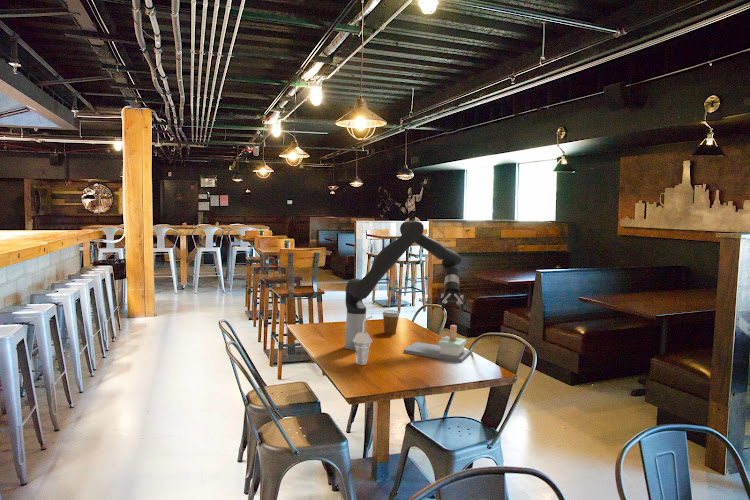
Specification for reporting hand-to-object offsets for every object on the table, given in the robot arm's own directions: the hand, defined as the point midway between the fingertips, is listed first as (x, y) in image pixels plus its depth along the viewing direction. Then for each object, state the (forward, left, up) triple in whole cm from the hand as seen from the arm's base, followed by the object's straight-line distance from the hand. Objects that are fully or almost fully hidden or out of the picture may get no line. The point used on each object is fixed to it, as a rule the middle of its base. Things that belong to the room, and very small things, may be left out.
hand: (452, 311), depth 247 cm
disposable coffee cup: (+14, +38, -19) cm, 45 cm away
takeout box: (-11, -4, -18) cm, 21 cm away
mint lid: (-11, -4, -14) cm, 18 cm away
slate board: (-11, +3, -19) cm, 22 cm away
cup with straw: (-47, +26, -19) cm, 57 cm away
